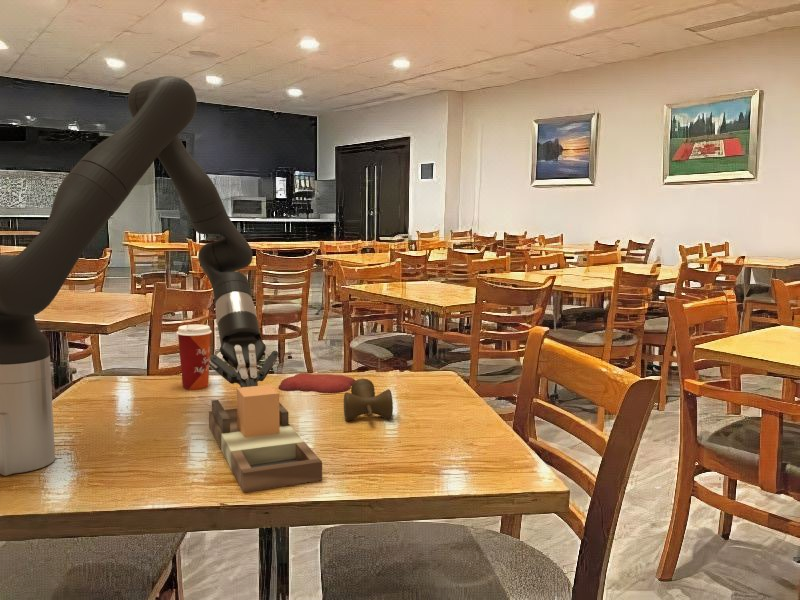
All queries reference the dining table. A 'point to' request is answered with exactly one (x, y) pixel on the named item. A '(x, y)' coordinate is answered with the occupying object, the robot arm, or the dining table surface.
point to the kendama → (367, 401)
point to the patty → (317, 383)
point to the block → (257, 410)
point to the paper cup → (194, 355)
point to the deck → (264, 452)
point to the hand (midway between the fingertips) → (252, 400)
